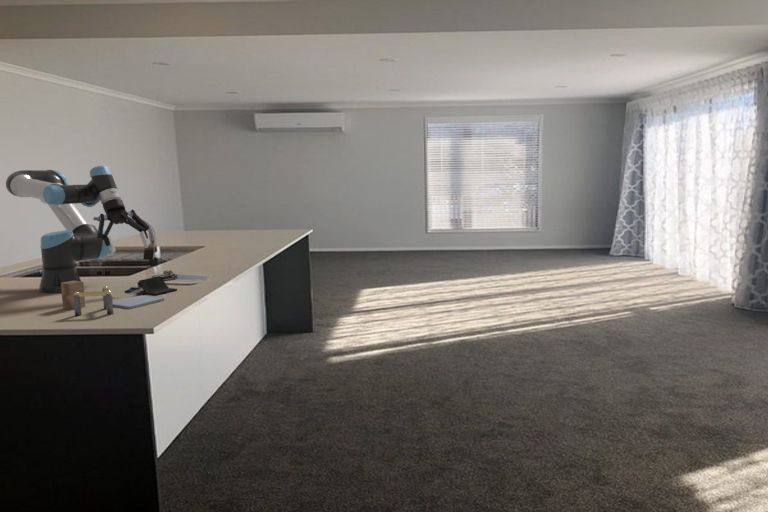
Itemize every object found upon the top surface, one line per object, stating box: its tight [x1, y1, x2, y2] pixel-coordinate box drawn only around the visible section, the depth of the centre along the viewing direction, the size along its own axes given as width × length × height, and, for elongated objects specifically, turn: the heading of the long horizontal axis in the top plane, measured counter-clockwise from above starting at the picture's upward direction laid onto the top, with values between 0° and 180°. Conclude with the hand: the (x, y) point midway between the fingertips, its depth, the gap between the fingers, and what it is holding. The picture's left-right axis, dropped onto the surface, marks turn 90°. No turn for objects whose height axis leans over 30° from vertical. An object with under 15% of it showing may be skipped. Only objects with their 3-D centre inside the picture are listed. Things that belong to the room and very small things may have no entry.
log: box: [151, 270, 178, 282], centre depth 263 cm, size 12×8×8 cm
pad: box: [113, 295, 165, 310], centre depth 215 cm, size 12×15×1 cm
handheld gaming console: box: [138, 276, 178, 297], centre depth 234 cm, size 12×7×10 cm
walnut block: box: [61, 280, 86, 310], centre depth 208 cm, size 5×5×9 cm
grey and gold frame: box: [73, 285, 114, 317], centre depth 200 cm, size 10×13×8 cm
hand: (131, 249), depth 233 cm, fingers open, 13 cm apart
